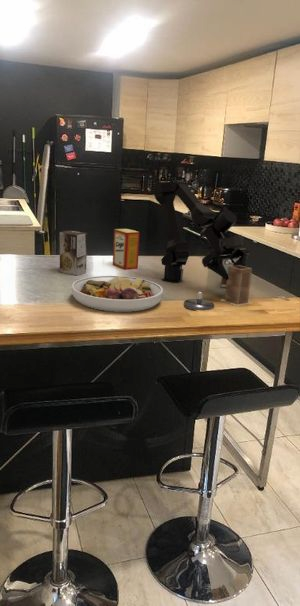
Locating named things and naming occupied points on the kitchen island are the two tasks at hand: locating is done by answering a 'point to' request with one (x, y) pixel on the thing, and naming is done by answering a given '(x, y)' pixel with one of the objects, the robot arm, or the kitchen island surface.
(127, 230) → the baking soda box
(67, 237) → the coffee box
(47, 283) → the kitchen island surface
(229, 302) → the cork pad
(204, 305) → the hub
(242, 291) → the collar
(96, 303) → the bowl
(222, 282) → the food container
